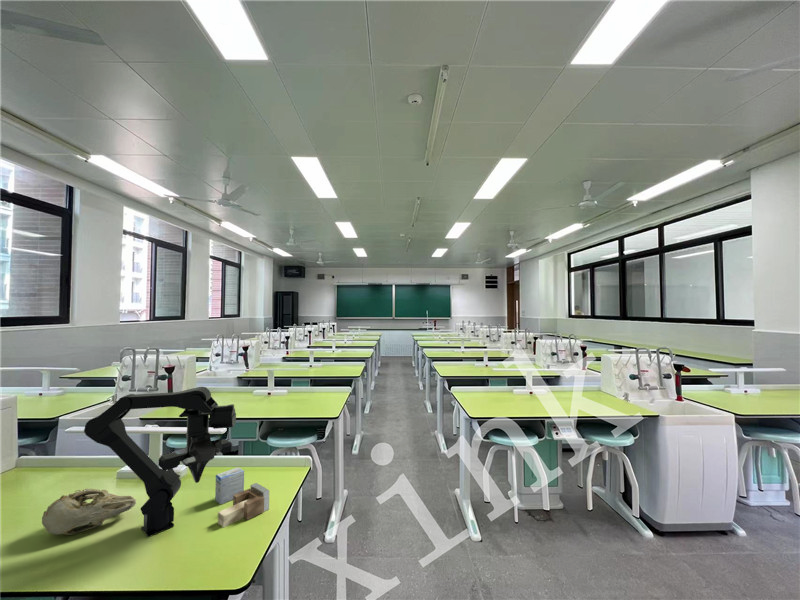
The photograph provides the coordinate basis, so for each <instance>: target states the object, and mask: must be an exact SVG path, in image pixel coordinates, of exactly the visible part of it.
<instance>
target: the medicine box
mask: <svg viewBox="0 0 800 600" xmlns="http://www.w3.org/2000/svg"><path fill="white" fill-rule="evenodd" d="M214 491H215V495H214V496H215V498H214V499H215V502H217V503H218V504H219V505H223V504H225V503H226V504H227V503H228V502H230V501H233V495H235V494H237V493H240V492H242V491H245V470H243V469H242V468H240V467H235V468H231V469H229V470H228V469H227V470H226V471H223V472H220V473H217V474H216V475H215V490H214Z"/></svg>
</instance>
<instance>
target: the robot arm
mask: <svg viewBox="0 0 800 600" xmlns="http://www.w3.org/2000/svg"><path fill="white" fill-rule="evenodd" d="M211 393H212V392H211V390H210V389H208V388H207V387H206V386H199V387H198V386H197V387H193V388H188V389H185V390H181V391H175V392H174V391H173V392H157V393H155V392H154V393H139V394H137V393H136V394H134V393H128V394H125V395H123V396H122V397H120V398H118V400H117V401H116V402H115V403H113V404H112V405H111V406H110V407H108V408H107V409H106V410H105V411H103V412H102V413H101V414H100V415H97V416H95V417H93V418H90V419H88V421H87V422H86V423H85V425H84V429H83V433H84V434H85V436H86V437H88V438H89V439H90V440H93V442H95V443H97V444H100V445H103V446H105V447H108V448H110V449H111V451H113V453H114V454H115V455H116V456H117V457H118V458H119V459H120V460H121V461H122V462H123V463H124V464H125V465H126V466H127V467H128V468H129V469H130V470H131V471H132V472H133V473H134V474H135V475H136V476H137V477H138V478H139V479H140V480H141V481H142V482H143V484H144V489H145V492H146V496H147V497H148V499H147V500H146V501H145V502H144V504H143V505H142V506H141V507H140V511H141V515H143V525H141V527H140V529H141V530H142V531H143V533H144V534H145V535H146V536H147V537H148V538H149V537H152V536H155V535H157V534H159V533H162V532H163V531H166V530H169V529H170V528H173V527H174V526H175V524H174V520H175V507H174V506H173V502H171V501H172V499H173V498H174V497H175V496H176V495H177V493H178V492H179V490H180V489H181V485H182V481H181V479H180V477H181V475H180V474H178V473H176V472H175V470H174V469H175V468H178V467H179V466H180V464H183V465H184V466H185V467H188V469H189V471H190V473H191V476H192V478H193V481H194V483H195V484H196V483H199V482H200V480H201V478H202V475H203V472H204V471H205V468H206V466H207V464H208V463H209V462H210V461H212V460H214V459H215V455H216V454H218V453H221V454H222V455H224V454H228V453H231V452H233V449H234V448H233V446H234V445H233V443H232V442H231V441H229V440H227V438H223V439H221V438H219V439H214V440H212V439H211V434H210V431H209V430H210V429H209V426H210V428H213V429H214V430H216V429H227V428H235V425H236V420H237V413H236V408H235V404H227V405H219V404H218V403H217V401H216V400H215V399H214V398H213V396H212V394H211ZM170 407H171V408H172V407H173V408H179V409H182V410H183V411H182V412H181V414H179V415H178V418H186V433H185V437H186V446H185V451H186V452H184V453H180V454H178V453H176V452H175V451H174V452H170V453H165V454H162V455H160V457H159V458H158V464H156V462H154V460H153V459H151V458H150V456H149V455H147V453H146V452H145V451H144V450H143V449H142V448H141V447H140V446H139V445H138V444H137V443H136V442H135V441H134V440H133V439H132V438H131V436H129V435H128V433H127V429H126V426H125V425H126V424H125V422H124V421H123V420H122V419H123V418H124V417H125V416H127V414H129V412H130V411H131V410H141V409H156V408H170Z"/></svg>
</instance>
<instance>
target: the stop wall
mask: <svg viewBox="0 0 800 600" xmlns="http://www.w3.org/2000/svg"><path fill="white" fill-rule="evenodd" d="M250 489H252V490H253V491H255V492H257V493H258V494H260V495H262V496H263V497H264V512H266V511H269V509H270V489H268V488H266V487H265V486H262V485H261V484H259V483H258V482H255V483H252V484H250Z"/></svg>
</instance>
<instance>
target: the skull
mask: <svg viewBox="0 0 800 600" xmlns="http://www.w3.org/2000/svg"><path fill="white" fill-rule="evenodd" d="M88 500H92V501H90V502H88ZM136 504H137V499H135V498H134V497H133V496H131V495H116V494H113V493H109V491H108V490H107V489H101V490H100V489H96V488H95V489H94V488H85V489H82V490H80V489H78V490H75V491H74V492H73V493H69V494H68V495H61V496H60V497H59V498H58V499H56V500H55V501H53V502H52V503H51V504H50V505H49V506H48V507H47V509H46V510H45V511H44V512H43V514H42V517H41V524H42V526H43V528H45V530H46V531H47V532H48V533H50V534H51V535H52V534H53V535H67V536H73V535H76V534H78V533H82V532H85V531H88V530H92V529H95V528H96V527H100V526H102V525H103V524H104V523H103V522H104V521H106V520H107V519H110V518H112V517H115V516H118V515H120V514H122V513H125V512H127V511H129V510H131V509H133V507H135V505H136ZM90 523H92V524H90Z"/></svg>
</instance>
